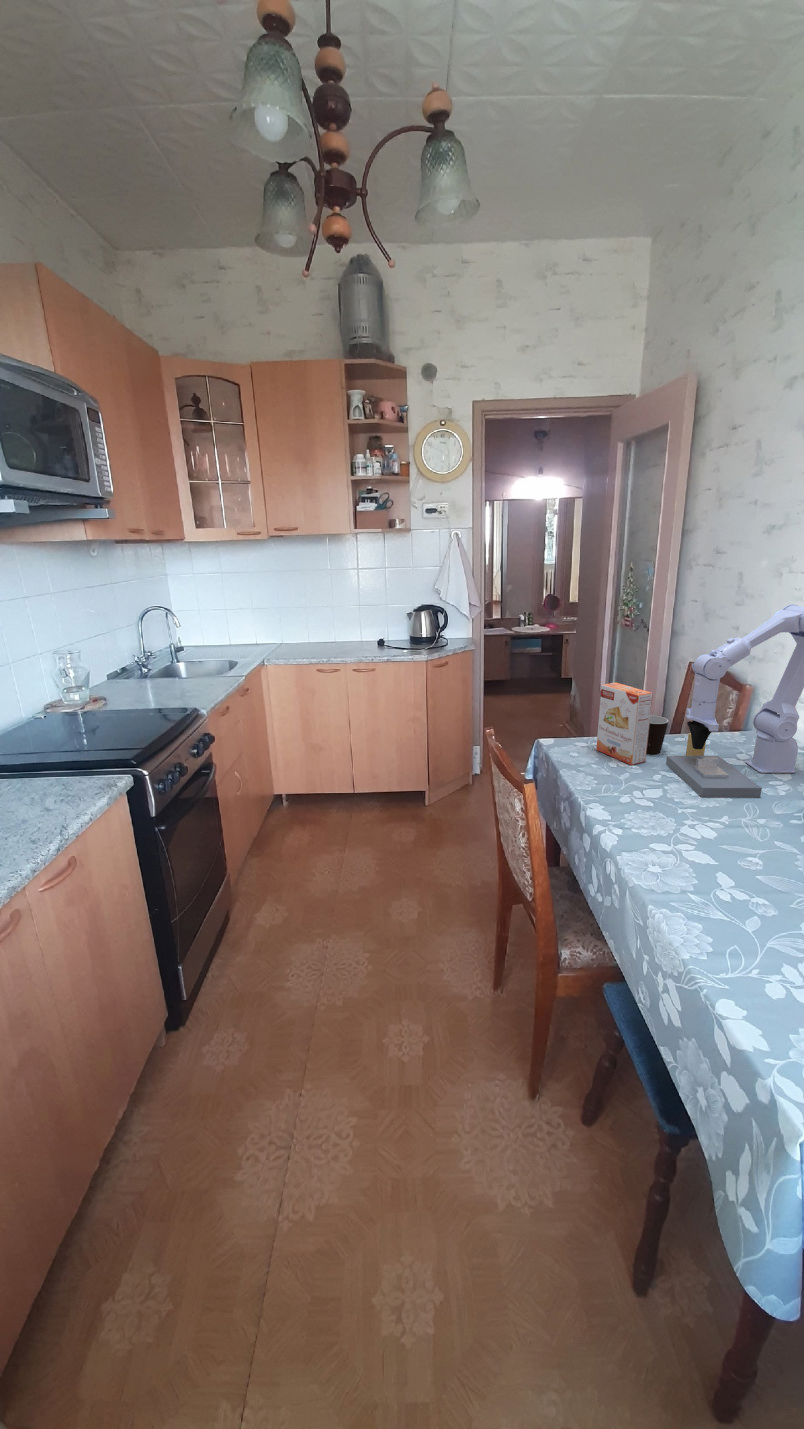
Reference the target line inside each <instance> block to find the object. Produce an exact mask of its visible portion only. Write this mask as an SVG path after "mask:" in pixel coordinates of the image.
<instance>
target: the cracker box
mask: <svg viewBox="0 0 804 1429" xmlns="http://www.w3.org/2000/svg"><path fill="white" fill-rule="evenodd" d="M653 694H654V693H653V692H652V691H648V690H644V689H640V688H636V687H633V686H630V685H627V684H623V683H619V682H616V681H615V682H610V683H603V684H601V688H600V701H599V712H598V724H597V725H598V726H597V735H596V736H597V737H596V738H597V739H596V749H595V750H596V751H598V752H600V753H602V754H605V755H606V756H610V757H612V758H614V759H616V760H619V761H621V762H623V763H625V764H627V765H630V766H634V765H638V764H641V763H645V762H646V760H647V758H646V757H647V754H646V752H647V743H648V733H649V724H650V715H652V704H653Z"/></svg>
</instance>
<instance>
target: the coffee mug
mask: <svg viewBox="0 0 804 1429" xmlns="http://www.w3.org/2000/svg"><path fill="white" fill-rule="evenodd" d="M668 725H669V719H668V718H666V717H664V716H660V715H659V716H658V715H653V714H651V715H650V724H649V733H648V743H647V752H646V755H650V756H652V755H653V756H657V755H660V754H661V752H662V748H663V745H664V744H663V743H664V740H665V737H666V733H667V728H668ZM659 753H660V754H659Z"/></svg>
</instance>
